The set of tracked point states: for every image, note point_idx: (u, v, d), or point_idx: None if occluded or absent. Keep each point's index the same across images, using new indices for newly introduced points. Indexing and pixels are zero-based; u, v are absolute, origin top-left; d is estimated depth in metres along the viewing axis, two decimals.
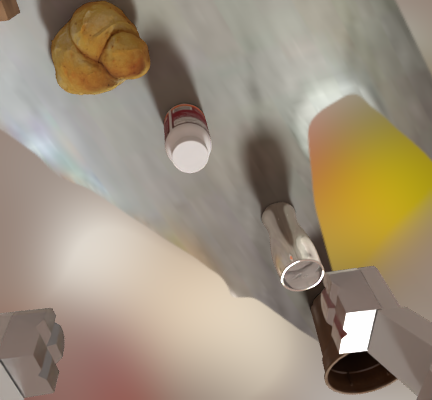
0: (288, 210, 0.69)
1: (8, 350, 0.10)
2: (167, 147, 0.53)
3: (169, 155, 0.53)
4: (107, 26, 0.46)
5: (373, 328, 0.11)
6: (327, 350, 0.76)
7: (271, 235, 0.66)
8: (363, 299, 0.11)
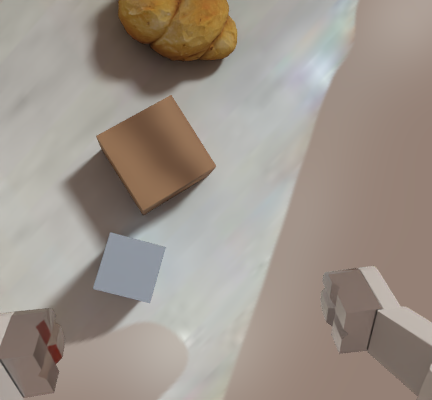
0: None
1: (8, 350, 0.10)
2: None
3: None
4: None
5: (373, 327, 0.11)
6: None
7: None
8: (363, 299, 0.11)
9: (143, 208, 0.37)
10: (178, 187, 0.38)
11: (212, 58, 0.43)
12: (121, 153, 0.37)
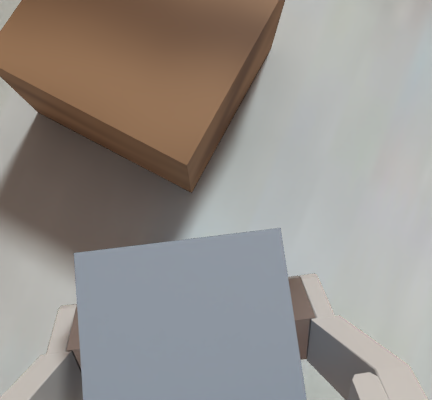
0: None
1: (78, 341, 0.10)
2: None
3: None
4: None
5: (309, 336, 0.11)
6: None
7: None
8: (299, 308, 0.11)
9: (184, 159, 0.14)
10: (236, 68, 0.14)
11: None
12: (62, 63, 0.14)
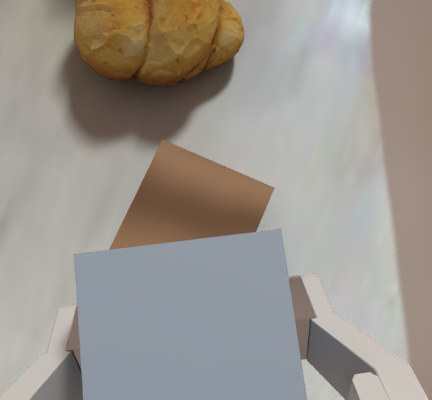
0: None
1: (78, 340, 0.10)
2: None
3: None
4: (86, 9, 0.27)
5: (310, 336, 0.11)
6: None
7: None
8: (299, 307, 0.11)
9: None
10: None
11: (220, 62, 0.31)
12: None
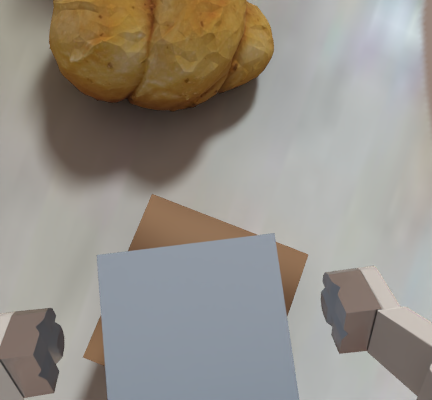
0: None
1: (8, 350, 0.10)
2: None
3: None
4: (66, 7, 0.20)
5: (373, 327, 0.11)
6: None
7: None
8: (363, 299, 0.11)
9: None
10: None
11: (241, 83, 0.24)
12: None
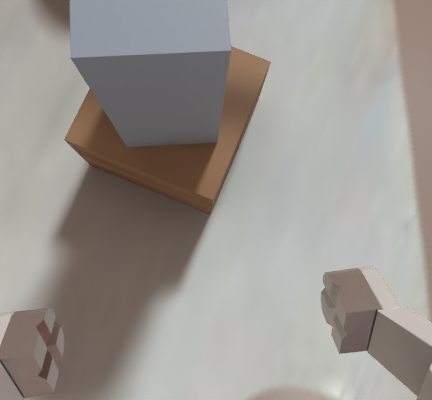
0: None
1: (8, 350, 0.10)
2: None
3: None
4: None
5: (373, 327, 0.11)
6: None
7: None
8: (363, 299, 0.11)
9: (211, 196, 0.20)
10: (239, 129, 0.21)
11: None
12: (120, 138, 0.20)
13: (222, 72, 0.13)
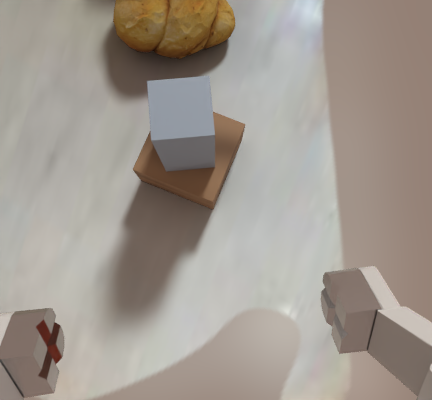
0: None
1: (8, 350, 0.10)
2: None
3: None
4: None
5: (373, 327, 0.11)
6: None
7: None
8: (363, 299, 0.11)
9: (212, 199, 0.37)
10: (227, 163, 0.38)
11: (216, 42, 0.43)
12: (162, 168, 0.37)
13: (212, 141, 0.30)
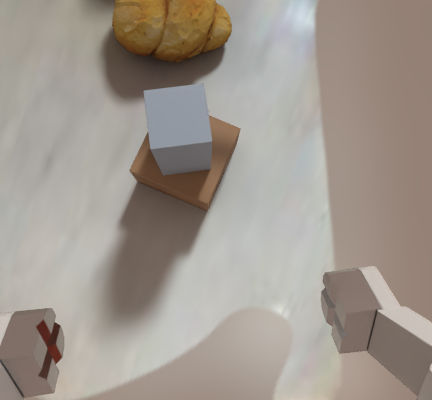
0: None
1: (8, 350, 0.10)
2: None
3: None
4: (123, 4, 0.40)
5: (373, 327, 0.11)
6: None
7: None
8: (363, 299, 0.11)
9: (206, 201, 0.38)
10: (222, 166, 0.38)
11: (213, 47, 0.44)
12: (159, 170, 0.38)
13: (209, 146, 0.31)
